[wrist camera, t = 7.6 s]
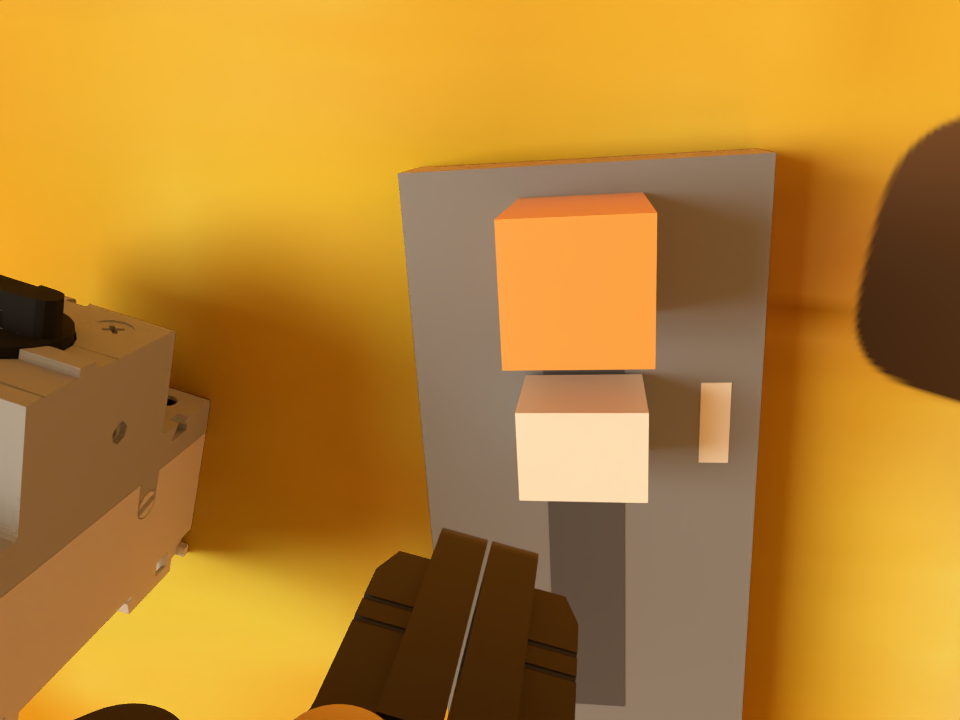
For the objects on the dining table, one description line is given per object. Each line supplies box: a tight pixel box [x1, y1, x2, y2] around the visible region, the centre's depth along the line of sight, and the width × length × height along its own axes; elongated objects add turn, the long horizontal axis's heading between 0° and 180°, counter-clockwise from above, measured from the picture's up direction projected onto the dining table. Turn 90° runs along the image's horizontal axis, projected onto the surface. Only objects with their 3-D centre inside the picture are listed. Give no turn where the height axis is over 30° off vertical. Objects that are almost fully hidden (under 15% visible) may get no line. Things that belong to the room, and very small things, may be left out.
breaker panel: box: [398, 149, 776, 720], centre depth 28 cm, size 26×12×4 cm, turn 3°
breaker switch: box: [515, 374, 649, 503], centre depth 24 cm, size 3×4×4 cm
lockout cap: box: [494, 192, 657, 371], centre depth 21 cm, size 4×4×6 cm
